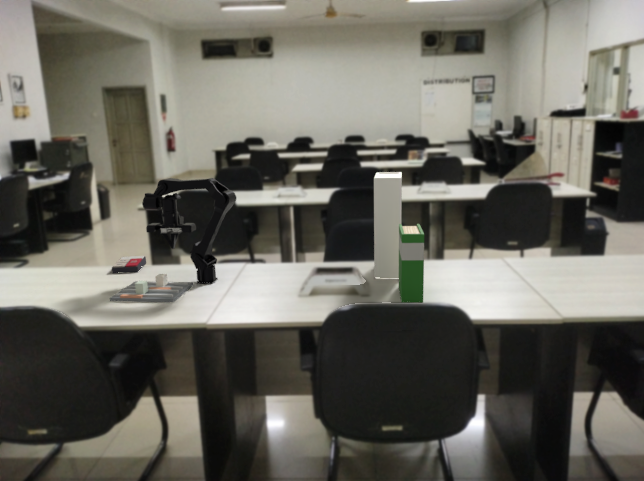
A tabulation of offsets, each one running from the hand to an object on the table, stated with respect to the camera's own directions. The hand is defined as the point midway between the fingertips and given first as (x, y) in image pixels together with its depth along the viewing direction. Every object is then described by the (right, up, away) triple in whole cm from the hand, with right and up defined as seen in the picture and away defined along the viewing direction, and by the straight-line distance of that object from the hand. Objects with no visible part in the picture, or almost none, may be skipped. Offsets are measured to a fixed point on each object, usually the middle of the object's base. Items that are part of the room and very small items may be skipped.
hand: (173, 248), depth 213 cm
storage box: (+87, -10, +5) cm, 88 cm away
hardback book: (+92, -16, -23) cm, 96 cm away
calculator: (-25, -10, +22) cm, 35 cm away
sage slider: (-6, -16, -18) cm, 25 cm away
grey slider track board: (-4, -16, -13) cm, 21 cm away
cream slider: (-2, -14, -10) cm, 17 cm away
